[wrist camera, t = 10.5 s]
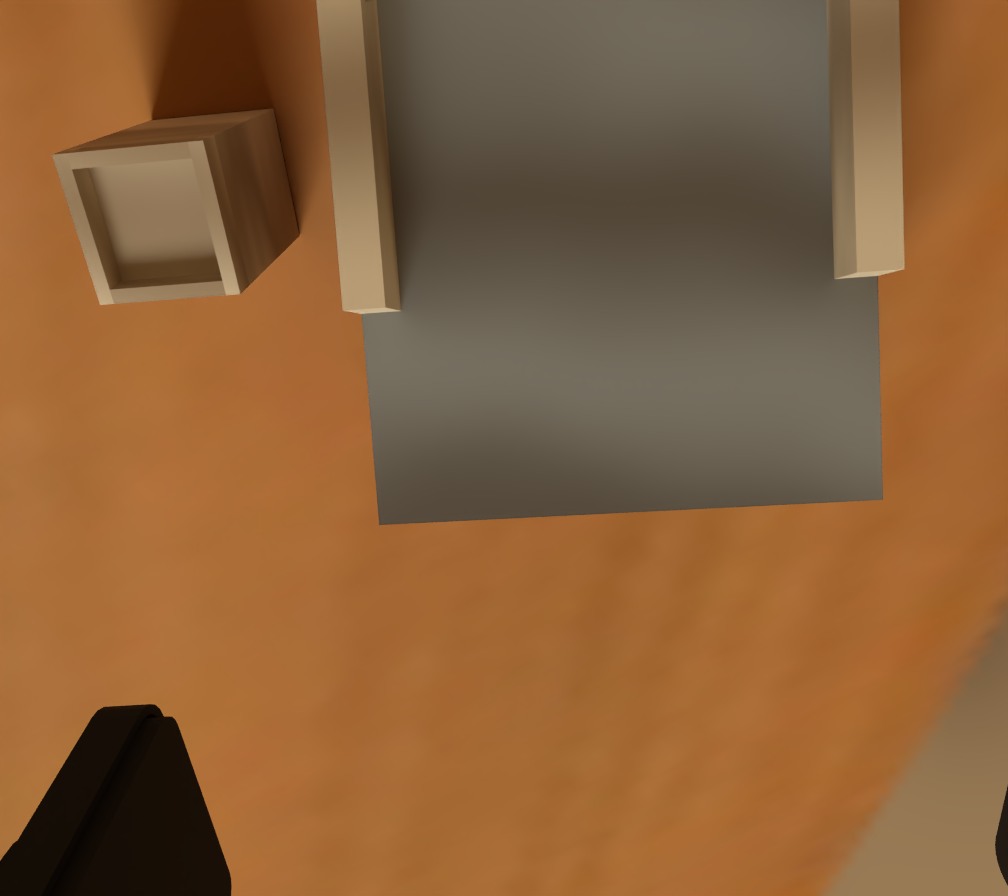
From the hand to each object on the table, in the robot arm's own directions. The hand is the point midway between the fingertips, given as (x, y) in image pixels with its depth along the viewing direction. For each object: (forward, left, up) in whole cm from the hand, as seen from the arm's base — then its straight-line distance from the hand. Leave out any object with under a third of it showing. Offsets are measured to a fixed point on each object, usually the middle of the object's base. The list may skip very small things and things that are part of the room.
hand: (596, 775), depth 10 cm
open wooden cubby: (+4, +8, -15) cm, 17 cm away
